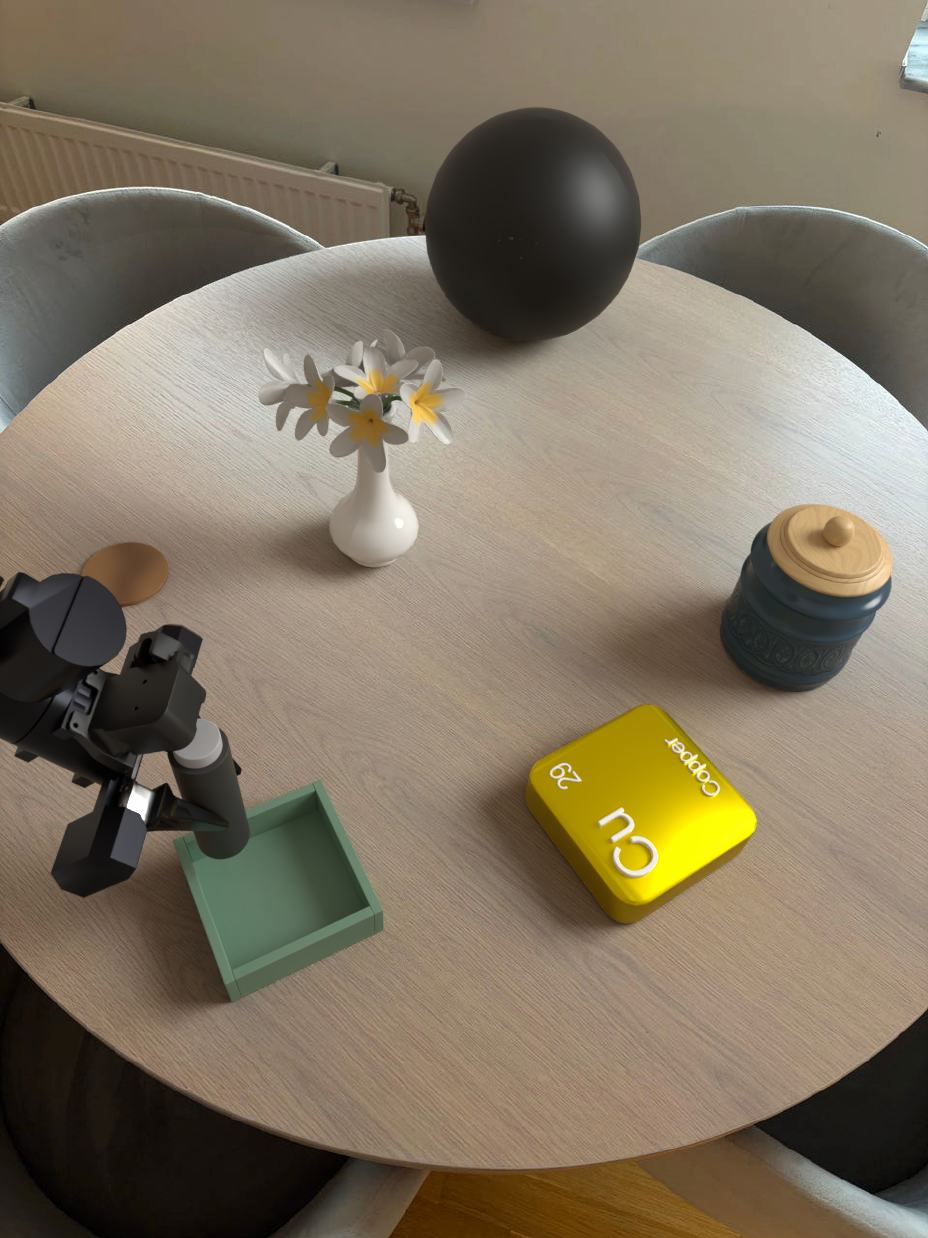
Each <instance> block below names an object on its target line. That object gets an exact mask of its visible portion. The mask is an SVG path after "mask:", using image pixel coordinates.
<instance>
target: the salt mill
mask: <svg viewBox="0 0 928 1238" xmlns="http://www.w3.org/2000/svg"><path fill="white" fill-rule="evenodd" d="M196 727H197V731H196V734H195V737H194V739H193V741H192V742H191V743H190V744H189V745H188V746H187V747H185V748H184V749H182V750H178V751H169V750H167V752H166V754H167V760H168V762H169V765H170V768H171V771H172V774H173V777H174V779H175V782H176V785H177V788H178V791H179V794H180V798H181V799H183V800H185V801H187V802H190V803H192V804H194V805H197V806H199V807H201V808H203V809H206V810H208V811H210V812H213V813H215V814H217V815H218V816H220V817H222V818H223V819H225V820H226V821H228V822H229V827H228V828H227V829H225V830H222V831H192V832H194V835H195V838H196V841H197V844H198V846H199V848H200V850H201V851H202V852H203V853H204V854H205V855H206V856H208V857H210V858H213V859H228V858H231V857H233V856H235V855H237V854H238V853H240V852H241V851H242V850H243V849H244V848H245V846H246V845H247V843H248V841H249V837H250V828H249V824H248V820H247V816H246V812H245V810H246V807H245V803H244V800H243V795H242V790H241V787H240V783H239V779H238V776H237V774H236V770H235V766H234V762H233V759H234V757H233V754H232V750H231V746H230V742H229V739H228V736H227V734H226V732H224V730H222V729H221V728H220V727H219V726H218V725H216V724H215V723H214V722H213V721H211V720H209V719H205V718H201V719H197V723H196Z"/></svg>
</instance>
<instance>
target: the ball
mask: <svg viewBox="0 0 928 1238" xmlns="http://www.w3.org/2000/svg"><path fill="white" fill-rule="evenodd" d="M641 212H642V211H641V200H640V195H639V191H638V188H637V186H636V183H635V179H634V176H633V174H632V171H631V168H630V166H629V164H628V163H627V162H626V160H625V158H624V156H623V155H622V153H621V151H620V150H619V149H618V148H617V146H616V145H615V144H614V143H613V141H612V140H610V139H609V138H608V136H607V135H605V134H604V133H603V132H602V131H601V129H599V128H598V127H597V126H596V125H593V124H592V123H590V122H588V121H586V120H585V119H583V118H581V117H579V116H577V115H576V114H573V113H570V112H567V111H565V110H561V109H557V108H552V107H551V108H550V107H544V106H543V107H540V106H532V107H523V108H518V109H513V110H508V111H505V112H502V113H498V114H496V115H494V116H492V117H490V118H488V119H487V120H485V121H483V122H482V123H480V124H478V125H477V126H475V127H473V128H472V129H471V130H469V131H468V132H466V134H465V135H464V136H463V137H462V138H461V139H460V140H459V141H457V143H456V144H455V145H454V146H453V147H452V148H451V150H450V151H449V153H448V154H447V155H446V157H445V159H444V160H443V162H442V164H441V165H440V167H439V168H438V170H437V172H436V174H435V177H434V180H433V183H432V186H431V188H430V191H429V195H428V198H427V201H426V208H425V217H424V232H425V246H426V253H427V257H428V261H429V264H430V267H431V271H432V273H433V276H434V278H435V280H436V282H437V284H438V286H439V287H440V289H441V291H442V293H443V295H444V297H445V298H446V299H447V300H448V302H450V304H451V305H452V306H453V307H454V308H455V309H456V310H457V311H458V313H460V314H461V315H462V317H464V318H465V319H466V320H467V321H469V322H470V323H471V324H473V325H475V326H476V327H478V328H480V329H481V330H483V331H485V332H488V333H489V334H492V335H494V336H497V337H499V338H502V339H507V340H510V341H515V342H516V341H517V342H541V341H547V340H552V339H556V338H559V337H564V336H567V335H570V334H571V333H574V332H576V331H579V329H581V328H583V327H584V326H586V325H587V324H589V323H590V322H592V321H594V320H595V319H596V318H598V317H599V316H600V315H601V314H602V313H603V312H604V311H605V310H606V309H607V308H608V307H609V305H611V303H612V302H613V301H614V300H615V299H616V297H617V296H619V294H620V292H621V291H622V289H623V287H624V285H625V284H626V282H627V281H628V279H629V276H630V275H631V271H632V269H633V266H634V264H635V260H636V258H637V255H638V252H639V249H640V241H641V240H640V239H641V231H642V213H641Z"/></svg>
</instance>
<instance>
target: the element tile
mask: <svg viewBox="0 0 928 1238" xmlns="http://www.w3.org/2000/svg"><path fill="white" fill-rule="evenodd" d="M524 799H525V804H526V807H527V808H528V810H529V812H530V813H531V814H532V815H533V817H534V819H535V820H536V821H537V822H538V824H539V825H540V826H541V828H542V829H543V830H544V832H545V833H546V834H547V836H548V837H549V839H550V840H551V841H552V844H554V845H555V847H556V848H557V849H558V851H559V852H560V854H561V855H562V857H564V859H565V860H566V861H567V863H568V864H569V866H570V867H571V868H572V870H573V871H574V872H575V874H576V875H577V876H578V878H579V879H580V880H581V882H582V883H583V885H584V886H585V888H586V889H587V890H588V891H589V892H590V894H591V896H593V898H594V900H595V901H596V902H597V904H598V905H599V906H600V907H601V909H602V910H603V912H605V914H606V915H608V916H609V918H611V919H612V920H614V921H616V922H617V923H621V924H625V925H627V924H633V923H637V922H641V921H642V920H643V919H644V918H646V917H648V916H649V915H651V914H653V912H655V911H657V910H658V909H660V908H662V907H663V906H664V905H666V904H667V903H669V902H671V901H672V900H673V899H675V898H676V897H678V896H679V895H681V894H682V893H684V892H686V891H687V890H689V889H690V888H691V887H693V886H694V885H696V884H697V883H699V882H701V881H702V880H703V879H705V878H707V877H708V876H709V875H711V874H713V873H714V872H715V871H717V870H718V869H720V868H722V867H724V865H726V864H728V863H729V862H730V861H732V860H733V859H735V858H737V857H738V856H739V855H740V854H741V853H742V851H743V850H744V848H745V847H746V845H747V844H748V843H749V841H750V840H751V838H752V837H753V835H754V833H755V831H756V829H757V827H758V817H757V815H756V812H755V810H754V808H753V807H752V806H751V804H750V803H749V802H748V800H746V799H745V797H744V796H743V795H742V794H741V793H740V792H739V791H738V790H737V788H736V787H735V786H734V785H733V784H732V783H731V782H730V781H729V780H728V778H727V777H726V776H725V775H724V774H723V772H721V771H720V770H719V768H718V767H717V766H716V765H715V764H714V762H712V760H711V759H710V758H709V757H708V756H707V755H706V753H704V751H703V750H701V748H700V747H699V746H698V745H697V744H696V742H694V740H693V739H692V738H691V737H690V736H689V735H688V734H687V733H686V732H685V729H683V727H682V726H680V725H679V724H678V722H677V721H676V720H675V719H674V718H673V717H672V716H671V715H670V713H668V712H667V711H666V710H665V709H664V708H662V707H660V706H659V705H656V704H651V703H644V704H643V703H642V704H639V705H636V706H634V707H632V708H630V709H629V710H626V711H625V712H623V713H621V714H619V715H618V716H615V717H614V718H612V719H610V720H608V721H607V722H605V723H603V724H601V725H599V726H598V727H596V728H593V729H592V730H591V731H589V732H587V733H585V734H583V735H581V736H579V737H578V738H576V739H574V740H572V741H570V742H569V743H567V744H565V745H563V746H562V747H559V748H558V749H556V750H554V751H552V752H551V753H549V754H547V755H545V756H543V757H541V758H539V759H538V760H537V761H536V762H535V763H534V764H533V765H532V767H531V768H530V771H529V775H528V779H527V784H526V788H525V794H524Z"/></svg>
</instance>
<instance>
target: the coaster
mask: <svg viewBox="0 0 928 1238" xmlns="http://www.w3.org/2000/svg"><path fill="white" fill-rule="evenodd" d="M168 565H169V564H168V563H167V559H166V558H165V556H164V554H163V553H162V552H161V551H160V550H159V549H157V548H156V547H154V546H152V545H150V544H146V543H142V542H138V541H137V542H135V541H128V542H119V543H115V544H112V545H109V546H106V547H104V548H102V549H101V550H98V551H97V552H96V553H94V554H93V555H92V556H91V557H90V558H89V559H88V560H87V561H86V563H85V564H84V566H83V568H82V571H81V575H80V576H89V577H91V578H93V579H95V580H97V581H98V582H100V583H101V584H102V585H104V586H105V587H106V588H107V589H108V590H109V591H110V592H111V593H112V594H113V595H114V596H115V598H116V599H117V601H118V603H119V604H120V606H121V608H122V607H130V606H134V605H137V604H141V603H143V602H145V601H148V599H150V598H152V597H154V595H157V593H158V592H159V591H160V590H161V589H162V588H163V586H164V585H165V583H166V581H167V579H168V575H169V568H168V567H169V566H168Z"/></svg>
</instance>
